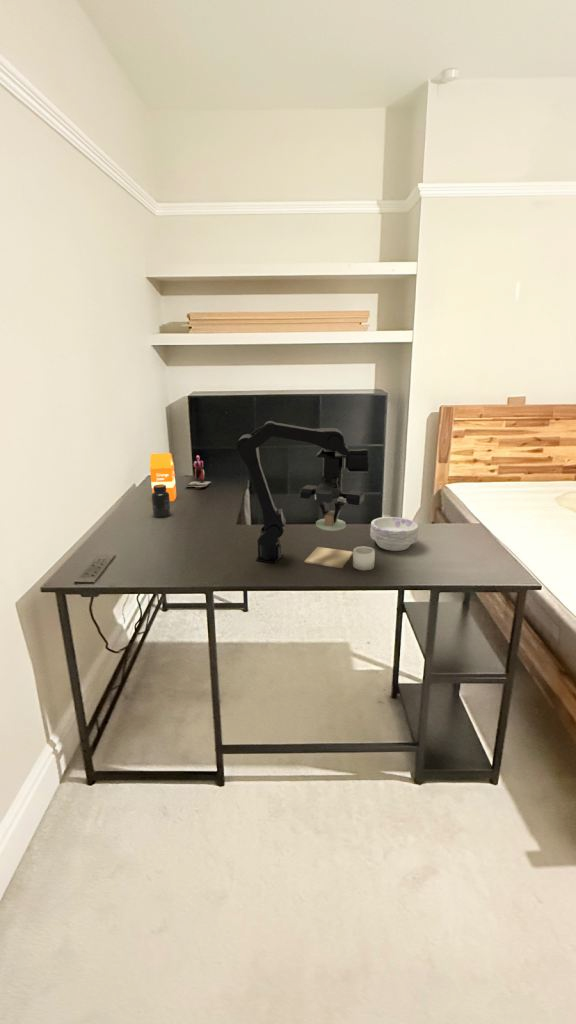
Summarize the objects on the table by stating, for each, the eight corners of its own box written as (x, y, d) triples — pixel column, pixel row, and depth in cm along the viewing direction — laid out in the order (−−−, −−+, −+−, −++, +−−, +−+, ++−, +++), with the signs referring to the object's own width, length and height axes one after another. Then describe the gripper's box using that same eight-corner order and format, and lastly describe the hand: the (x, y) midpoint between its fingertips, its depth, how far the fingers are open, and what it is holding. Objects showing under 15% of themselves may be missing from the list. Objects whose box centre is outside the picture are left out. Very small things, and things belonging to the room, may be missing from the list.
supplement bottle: (149, 517, 205) (146, 487, 201) (159, 511, 211) (156, 482, 207) (165, 518, 203) (162, 488, 199) (174, 513, 209) (171, 484, 205)
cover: (311, 528, 158) (311, 515, 157) (321, 519, 166) (322, 507, 165) (340, 532, 155) (340, 519, 154) (349, 523, 163) (349, 510, 162)
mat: (304, 562, 161) (304, 560, 161) (317, 548, 172) (317, 546, 172) (342, 568, 157) (342, 566, 157) (353, 553, 167) (353, 551, 167)
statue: (192, 485, 252) (190, 454, 249) (211, 486, 250) (210, 454, 247) (184, 489, 241) (182, 456, 238) (203, 489, 240) (202, 456, 237)
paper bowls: (418, 540, 178) (420, 517, 175) (414, 557, 164) (416, 533, 162) (373, 535, 182) (374, 514, 180) (366, 552, 169) (367, 528, 166)
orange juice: (156, 496, 231) (152, 451, 225) (176, 495, 232) (172, 451, 225) (153, 501, 224) (148, 455, 217) (174, 501, 224) (170, 455, 218)
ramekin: (350, 568, 157) (350, 552, 155) (356, 560, 162) (356, 545, 161) (371, 571, 154) (372, 555, 153) (376, 563, 160) (377, 548, 159)
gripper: (292, 474, 152) (292, 525, 157) (355, 481, 145) (352, 534, 150) (306, 466, 161) (305, 514, 166) (365, 472, 154) (363, 522, 159)
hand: (330, 521), depth 160 cm, fingers closed on cover, 2 cm apart
